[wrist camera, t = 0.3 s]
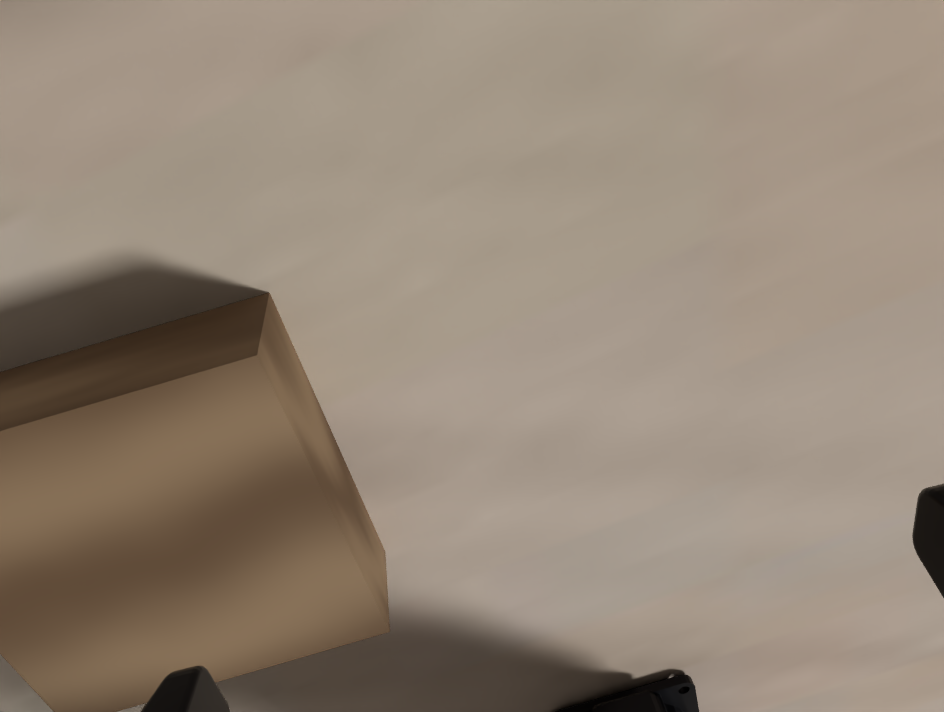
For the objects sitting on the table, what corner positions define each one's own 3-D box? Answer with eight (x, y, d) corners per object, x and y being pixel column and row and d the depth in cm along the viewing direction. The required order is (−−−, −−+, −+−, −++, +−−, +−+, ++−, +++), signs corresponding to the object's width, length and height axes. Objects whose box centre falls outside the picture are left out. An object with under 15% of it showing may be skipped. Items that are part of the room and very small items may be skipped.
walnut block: (384, 544, 28) (389, 631, 25) (100, 627, 28) (67, 725, 25) (270, 287, 23) (257, 355, 19) (-85, 392, 23) (-162, 479, 19)
